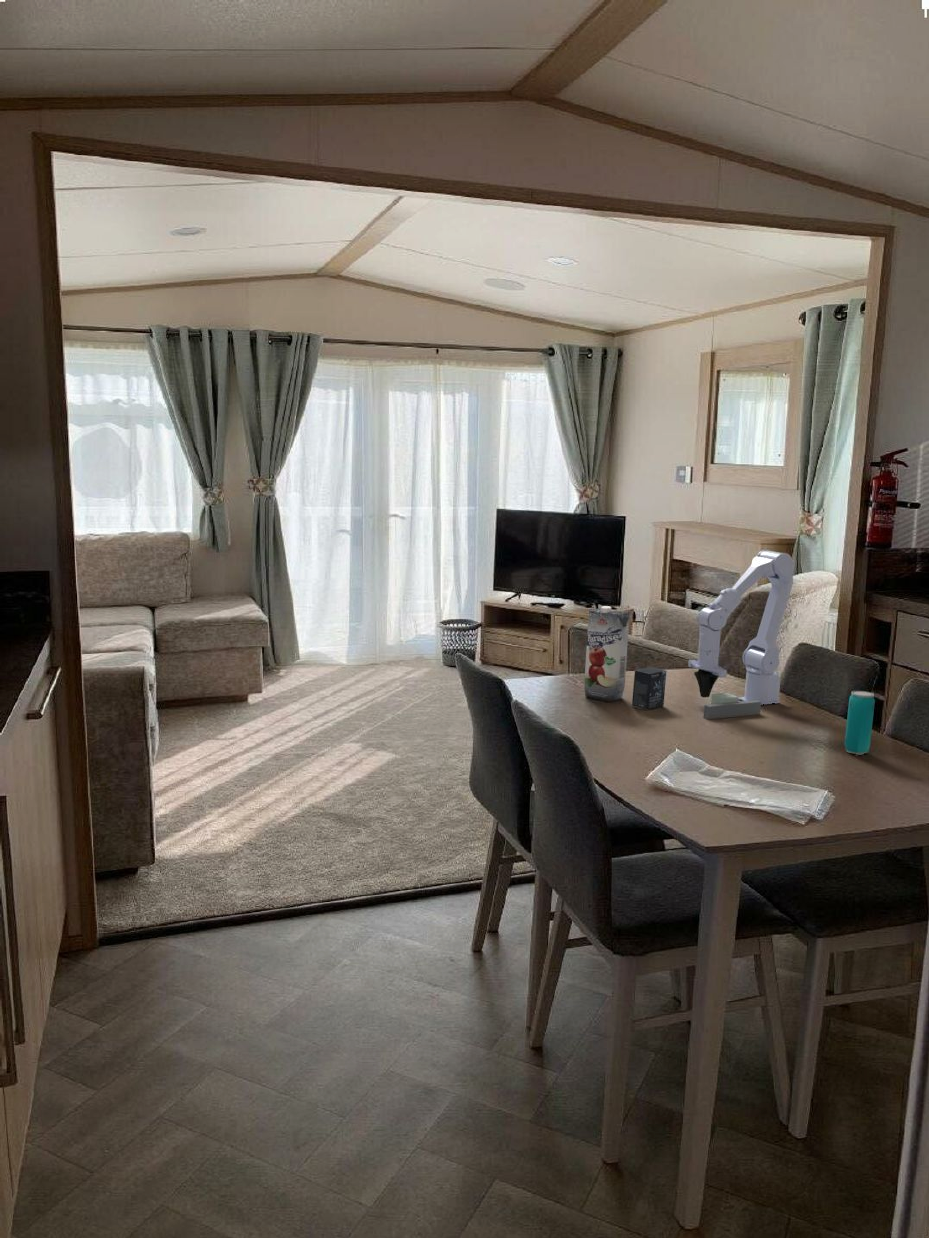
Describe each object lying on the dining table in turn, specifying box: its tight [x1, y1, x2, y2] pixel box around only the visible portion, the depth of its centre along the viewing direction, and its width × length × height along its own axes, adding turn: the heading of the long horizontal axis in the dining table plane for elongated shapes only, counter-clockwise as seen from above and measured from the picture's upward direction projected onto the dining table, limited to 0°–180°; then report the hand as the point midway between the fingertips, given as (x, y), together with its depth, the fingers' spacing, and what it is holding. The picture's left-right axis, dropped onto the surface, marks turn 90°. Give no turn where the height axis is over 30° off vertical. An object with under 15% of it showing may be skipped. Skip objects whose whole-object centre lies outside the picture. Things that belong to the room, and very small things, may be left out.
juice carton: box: [584, 605, 630, 703], centre depth 284 cm, size 9×10×27 cm
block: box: [710, 692, 739, 704], centre depth 275 cm, size 5×5×5 cm
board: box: [702, 700, 762, 720], centre depth 272 cm, size 18×2×4 cm, turn 115°
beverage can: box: [844, 690, 876, 754], centre depth 240 cm, size 6×6×15 cm
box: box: [631, 666, 667, 711], centre depth 278 cm, size 8×6×11 cm
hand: (704, 696), depth 282 cm, fingers closed
